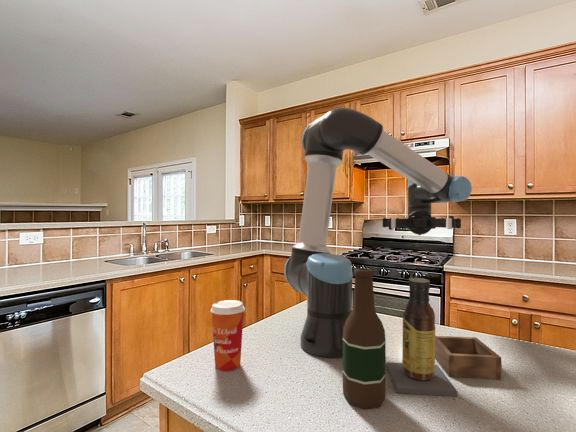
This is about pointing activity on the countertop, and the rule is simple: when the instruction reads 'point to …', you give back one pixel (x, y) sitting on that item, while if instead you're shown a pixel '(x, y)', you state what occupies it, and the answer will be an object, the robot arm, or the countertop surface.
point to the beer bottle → (364, 347)
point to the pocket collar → (467, 357)
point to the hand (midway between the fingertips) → (420, 223)
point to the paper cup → (227, 333)
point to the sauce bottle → (419, 332)
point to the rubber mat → (420, 382)
